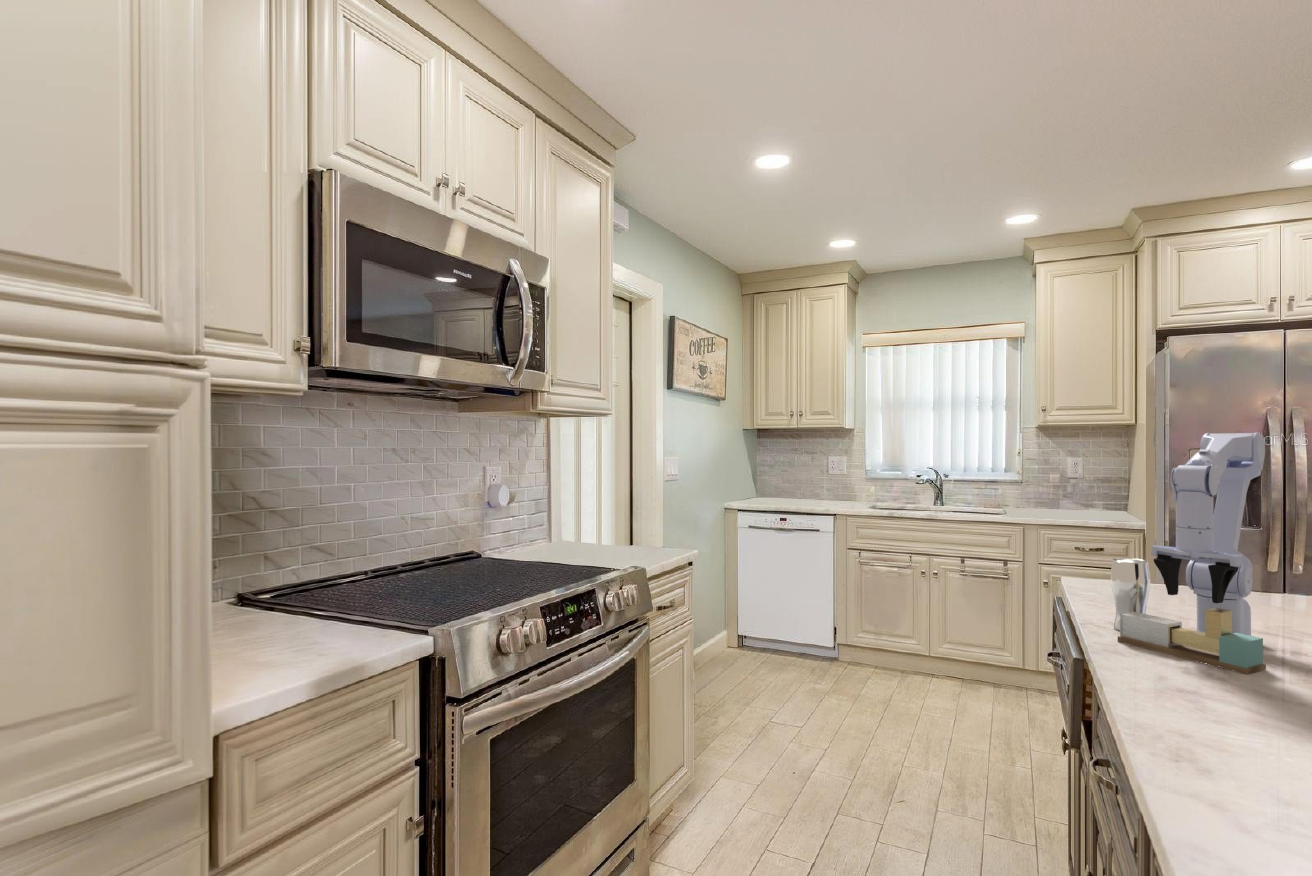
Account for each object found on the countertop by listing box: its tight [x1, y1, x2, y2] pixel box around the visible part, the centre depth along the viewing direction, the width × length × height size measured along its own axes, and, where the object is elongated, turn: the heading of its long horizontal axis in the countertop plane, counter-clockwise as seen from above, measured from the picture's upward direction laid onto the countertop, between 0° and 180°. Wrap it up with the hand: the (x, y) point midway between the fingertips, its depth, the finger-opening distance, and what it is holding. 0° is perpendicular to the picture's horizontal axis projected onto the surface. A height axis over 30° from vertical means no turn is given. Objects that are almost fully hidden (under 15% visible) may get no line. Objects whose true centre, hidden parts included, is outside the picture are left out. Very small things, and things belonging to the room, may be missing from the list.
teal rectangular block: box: [1219, 633, 1264, 668], centre depth 123 cm, size 6×4×4 cm
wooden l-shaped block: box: [1170, 608, 1232, 654], centre depth 129 cm, size 4×13×8 cm, turn 25°
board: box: [1117, 635, 1267, 675], centre depth 131 cm, size 6×22×1 cm, turn 25°
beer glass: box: [1110, 557, 1151, 631], centre depth 148 cm, size 7×7×15 cm
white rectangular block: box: [1119, 612, 1183, 648], centre depth 137 cm, size 4×9×4 cm, turn 25°
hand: (1194, 598), depth 132 cm, fingers open, 7 cm apart
